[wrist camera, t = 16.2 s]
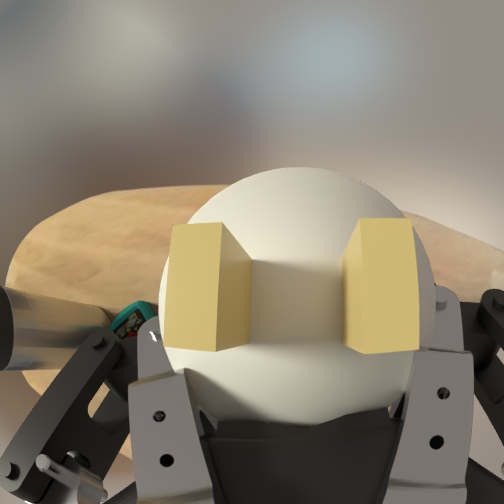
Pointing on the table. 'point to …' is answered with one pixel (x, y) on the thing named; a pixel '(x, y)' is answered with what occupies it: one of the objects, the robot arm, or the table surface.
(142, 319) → the digital multimeter
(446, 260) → the table surface
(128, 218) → the table surface
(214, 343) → the plug
